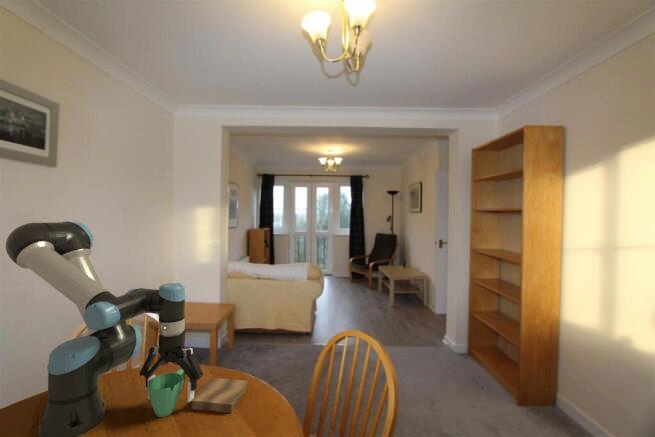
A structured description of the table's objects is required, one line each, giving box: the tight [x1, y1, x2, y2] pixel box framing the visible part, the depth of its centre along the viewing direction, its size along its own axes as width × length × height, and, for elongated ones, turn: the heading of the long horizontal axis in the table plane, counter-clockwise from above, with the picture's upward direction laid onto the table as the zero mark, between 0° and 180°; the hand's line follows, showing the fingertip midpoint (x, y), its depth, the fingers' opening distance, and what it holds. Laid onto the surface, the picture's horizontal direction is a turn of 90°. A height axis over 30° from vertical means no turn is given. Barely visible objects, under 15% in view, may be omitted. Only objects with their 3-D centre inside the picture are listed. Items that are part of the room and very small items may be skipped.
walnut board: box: [189, 377, 249, 414], centre depth 106 cm, size 14×14×3 cm
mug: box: [146, 368, 187, 418], centre depth 100 cm, size 15×10×10 cm
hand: (171, 398), depth 100 cm, fingers open, 13 cm apart
